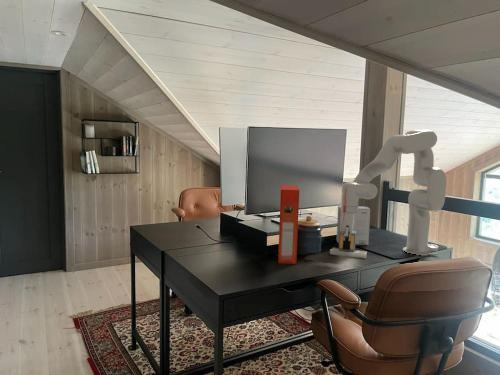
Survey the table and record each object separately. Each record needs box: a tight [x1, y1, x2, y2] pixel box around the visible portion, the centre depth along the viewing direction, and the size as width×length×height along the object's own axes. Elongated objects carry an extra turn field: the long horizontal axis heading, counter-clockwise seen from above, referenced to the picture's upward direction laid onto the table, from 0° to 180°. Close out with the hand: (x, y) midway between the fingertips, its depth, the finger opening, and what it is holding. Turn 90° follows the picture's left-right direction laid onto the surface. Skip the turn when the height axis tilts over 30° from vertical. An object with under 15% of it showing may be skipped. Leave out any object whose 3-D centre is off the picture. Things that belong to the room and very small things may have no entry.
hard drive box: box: [336, 205, 372, 246], centre depth 202 cm, size 16×8×20 cm, turn 84°
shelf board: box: [329, 247, 368, 259], centre depth 183 cm, size 16×12×4 cm
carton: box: [338, 230, 356, 252], centre depth 182 cm, size 5×7×9 cm
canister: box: [297, 215, 323, 256], centre depth 187 cm, size 13×13×18 cm
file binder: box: [277, 184, 300, 265], centre depth 176 cm, size 8×17×32 cm, turn 176°
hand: (346, 247), depth 183 cm, fingers closed on carton, 5 cm apart
